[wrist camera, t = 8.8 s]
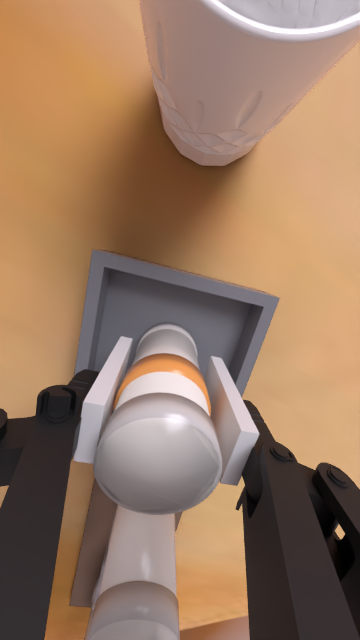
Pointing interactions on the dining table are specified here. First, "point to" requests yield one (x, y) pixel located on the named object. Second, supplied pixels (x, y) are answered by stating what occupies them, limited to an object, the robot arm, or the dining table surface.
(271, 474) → the robot arm
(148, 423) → the cylinder
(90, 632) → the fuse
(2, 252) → the dining table surface
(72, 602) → the clip rail
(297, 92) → the white cup
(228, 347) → the tray
